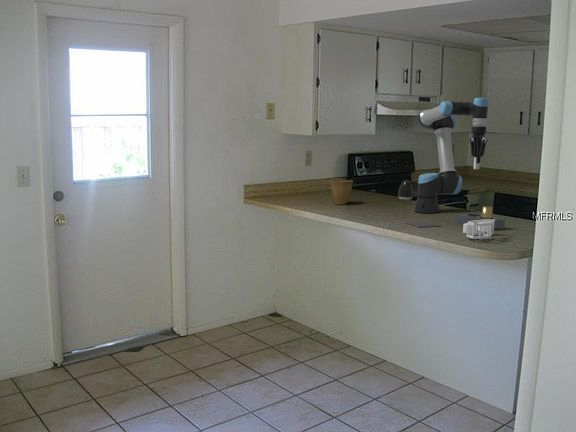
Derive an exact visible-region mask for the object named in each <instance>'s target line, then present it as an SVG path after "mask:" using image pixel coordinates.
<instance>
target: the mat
mask: <svg viewBox="0 0 576 432" xmlns="http://www.w3.org/2000/svg"><path fill="white" fill-rule="evenodd" d="M404 224H406V225H409V226H413V227H416V228H436V227H438V228H439V227H442V225H441V224H437V223H434V222H430V221H427V220H425V221H424V220H423V221H405V222H404Z"/></svg>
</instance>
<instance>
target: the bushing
mask: <svg viewBox="0 0 576 432" xmlns="http://www.w3.org/2000/svg"><path fill="white" fill-rule="evenodd" d="M481 207H482V208H481V210H482V211H481V214H482V219H492V217H493V216H492V215H493V206H489V205H488V206H486V205H485V206H484V205H483V206H481Z"/></svg>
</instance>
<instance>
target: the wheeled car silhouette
mask: <svg viewBox="0 0 576 432" xmlns="http://www.w3.org/2000/svg"><path fill="white" fill-rule="evenodd" d="M494 222H495V220H494V219H483V220H474V221H469V222H468V223H466V224H464V225H463V224H462V225H463V226H462V227H463V229H462V233H463V234H466V238H470V239H473V240H480V239H481V240H482V239H488V238H491V237H492V235H495V232H494V231H495V230H494ZM475 223H476V224H475ZM475 227H476V228H475Z"/></svg>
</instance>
